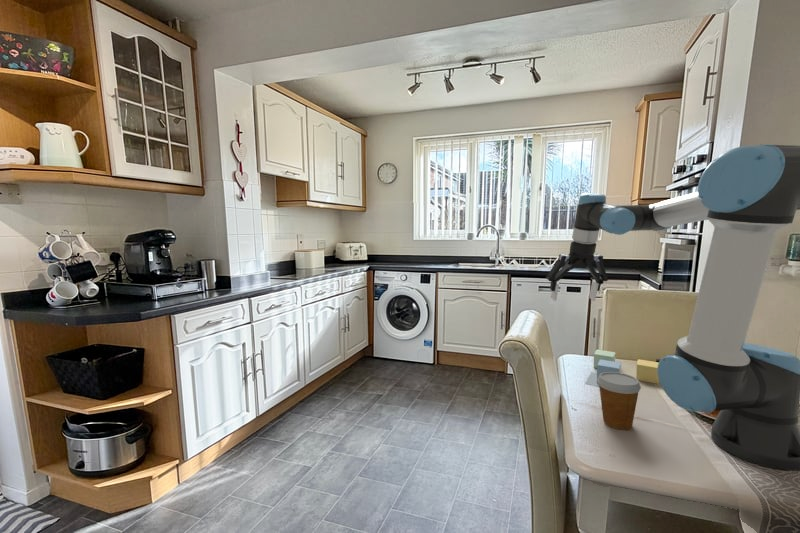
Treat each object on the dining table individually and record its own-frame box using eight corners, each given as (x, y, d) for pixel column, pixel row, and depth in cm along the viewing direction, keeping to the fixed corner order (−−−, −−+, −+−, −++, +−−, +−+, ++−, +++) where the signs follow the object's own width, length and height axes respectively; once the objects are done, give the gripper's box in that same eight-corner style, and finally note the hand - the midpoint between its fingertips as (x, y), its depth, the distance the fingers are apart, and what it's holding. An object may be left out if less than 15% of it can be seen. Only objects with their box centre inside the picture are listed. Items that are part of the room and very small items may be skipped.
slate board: (629, 395, 105) (629, 393, 105) (584, 386, 113) (584, 383, 112) (632, 382, 115) (632, 379, 115) (591, 374, 122) (591, 372, 122)
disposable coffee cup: (595, 411, 96) (596, 369, 95) (636, 418, 92) (637, 374, 91) (597, 428, 88) (598, 382, 87) (643, 437, 84) (644, 388, 83)
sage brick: (612, 373, 122) (613, 357, 122) (593, 370, 126) (593, 353, 125) (615, 368, 127) (615, 352, 127) (596, 365, 131) (596, 349, 130)
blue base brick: (618, 387, 109) (619, 368, 109) (596, 382, 113) (597, 364, 113) (620, 380, 114) (621, 362, 114) (599, 376, 118) (600, 359, 117)
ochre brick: (658, 386, 111) (659, 368, 111) (636, 382, 115) (636, 364, 114) (659, 380, 116) (659, 362, 116) (637, 376, 120) (638, 359, 119)
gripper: (614, 237, 119) (602, 294, 127) (542, 237, 119) (533, 294, 126) (628, 244, 112) (614, 303, 119) (551, 244, 112) (541, 303, 119)
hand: (572, 299), depth 123 cm, fingers open, 13 cm apart
